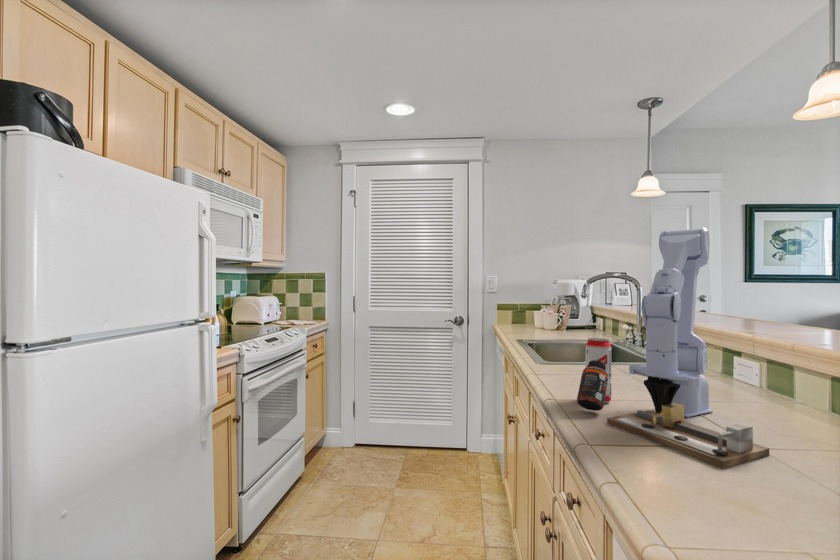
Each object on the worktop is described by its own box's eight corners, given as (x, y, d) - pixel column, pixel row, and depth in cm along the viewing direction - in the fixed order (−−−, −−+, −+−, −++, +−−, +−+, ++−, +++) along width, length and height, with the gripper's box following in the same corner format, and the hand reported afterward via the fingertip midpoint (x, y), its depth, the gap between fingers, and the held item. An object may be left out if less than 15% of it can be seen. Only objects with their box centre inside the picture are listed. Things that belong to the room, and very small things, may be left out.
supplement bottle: (605, 406, 94) (613, 362, 100) (578, 397, 96) (587, 355, 102) (599, 414, 99) (606, 372, 105) (573, 405, 101) (582, 365, 107)
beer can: (609, 405, 103) (609, 341, 103) (582, 401, 106) (583, 339, 107) (612, 400, 108) (613, 339, 109) (587, 396, 112) (587, 337, 112)
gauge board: (648, 415, 96) (648, 392, 96) (769, 455, 74) (769, 425, 74) (607, 423, 91) (606, 399, 91) (723, 468, 69) (723, 437, 69)
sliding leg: (675, 422, 87) (674, 402, 87) (684, 425, 85) (684, 405, 85) (649, 427, 84) (648, 407, 84) (658, 430, 82) (657, 410, 82)
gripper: (619, 346, 93) (619, 407, 93) (682, 357, 79) (682, 428, 79) (641, 344, 95) (642, 403, 95) (706, 354, 82) (706, 423, 82)
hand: (662, 414), depth 87 cm, fingers closed
